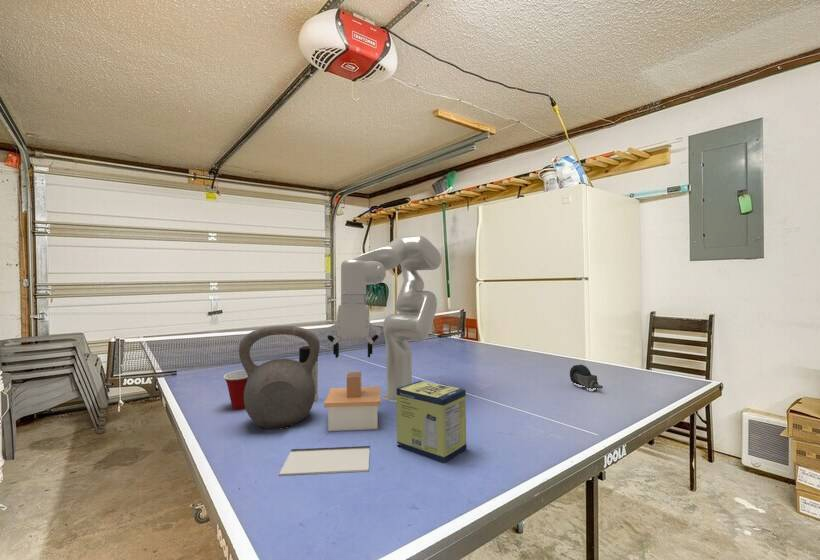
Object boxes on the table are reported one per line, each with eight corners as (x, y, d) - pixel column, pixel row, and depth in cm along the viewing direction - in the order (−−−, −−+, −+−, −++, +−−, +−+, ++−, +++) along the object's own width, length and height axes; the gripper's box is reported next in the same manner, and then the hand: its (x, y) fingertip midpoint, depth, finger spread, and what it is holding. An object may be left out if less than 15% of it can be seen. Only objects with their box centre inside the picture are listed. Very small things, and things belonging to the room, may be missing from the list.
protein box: (420, 434, 110) (419, 379, 110) (467, 449, 100) (466, 389, 100) (395, 447, 102) (395, 387, 102) (444, 464, 92) (444, 398, 92)
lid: (380, 390, 127) (380, 368, 127) (380, 405, 111) (380, 380, 111) (331, 391, 125) (330, 369, 125) (324, 407, 109) (323, 381, 110)
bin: (377, 415, 126) (377, 390, 126) (377, 432, 112) (377, 404, 112) (334, 417, 124) (333, 392, 125) (328, 434, 111) (328, 406, 111)
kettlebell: (233, 437, 109) (233, 330, 109) (244, 416, 126) (243, 324, 126) (320, 428, 115) (319, 327, 115) (319, 410, 132) (319, 322, 132)
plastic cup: (216, 409, 133) (216, 374, 133) (243, 400, 143) (242, 368, 143) (237, 414, 128) (237, 377, 128) (263, 404, 138) (263, 371, 138)
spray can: (320, 399, 144) (320, 345, 144) (314, 405, 137) (314, 348, 137) (303, 399, 144) (303, 345, 144) (296, 404, 137) (295, 348, 138)
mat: (370, 436, 108) (370, 435, 108) (368, 471, 89) (368, 469, 89) (297, 439, 107) (297, 438, 107) (279, 475, 87) (279, 473, 87)
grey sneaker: (567, 387, 160) (596, 393, 146) (565, 364, 161) (594, 367, 147) (578, 386, 162) (608, 392, 148) (576, 363, 163) (605, 366, 149)
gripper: (381, 300, 123) (381, 354, 122) (326, 300, 121) (326, 355, 121) (381, 300, 115) (381, 358, 115) (322, 301, 114) (322, 359, 113)
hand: (353, 356), depth 118 cm, fingers open, 9 cm apart
